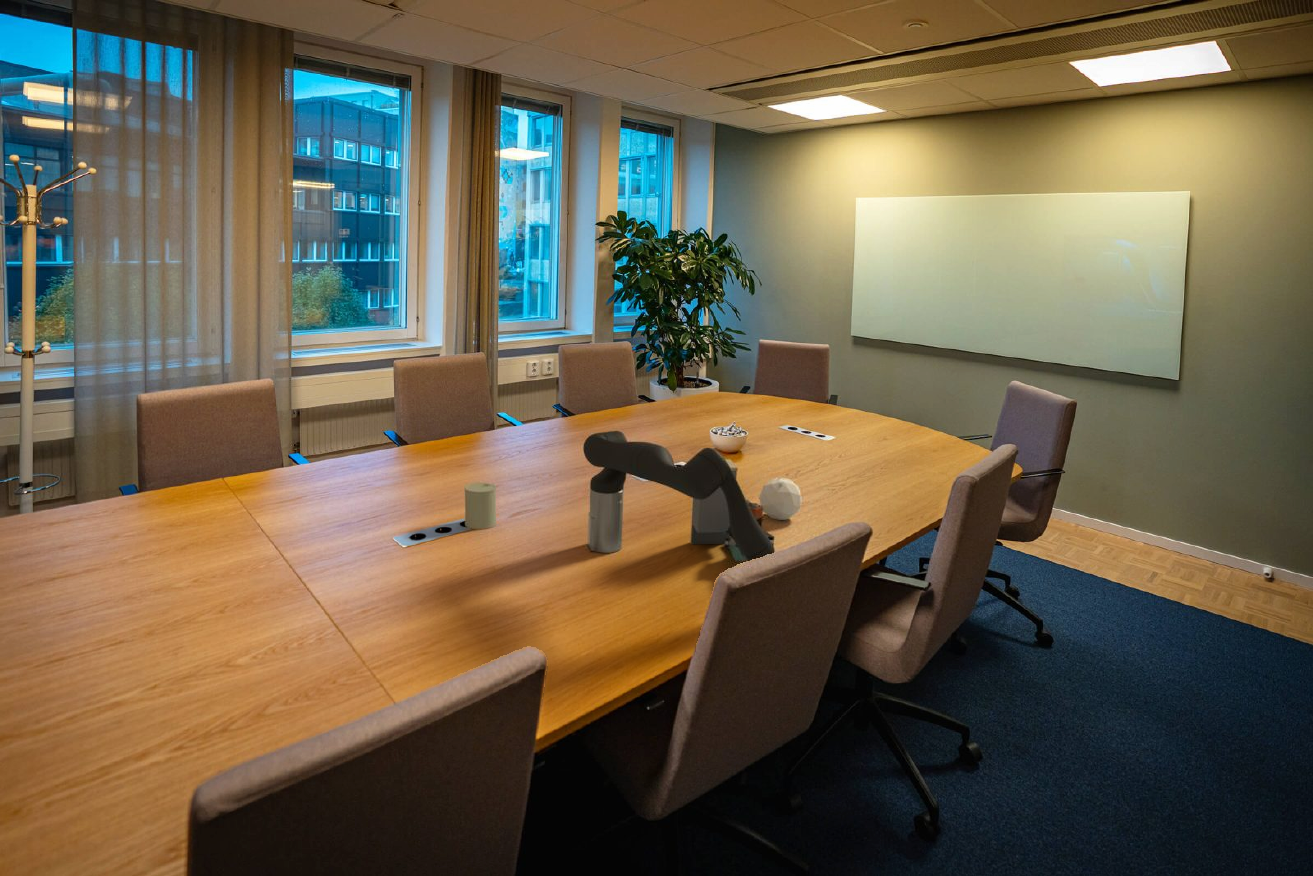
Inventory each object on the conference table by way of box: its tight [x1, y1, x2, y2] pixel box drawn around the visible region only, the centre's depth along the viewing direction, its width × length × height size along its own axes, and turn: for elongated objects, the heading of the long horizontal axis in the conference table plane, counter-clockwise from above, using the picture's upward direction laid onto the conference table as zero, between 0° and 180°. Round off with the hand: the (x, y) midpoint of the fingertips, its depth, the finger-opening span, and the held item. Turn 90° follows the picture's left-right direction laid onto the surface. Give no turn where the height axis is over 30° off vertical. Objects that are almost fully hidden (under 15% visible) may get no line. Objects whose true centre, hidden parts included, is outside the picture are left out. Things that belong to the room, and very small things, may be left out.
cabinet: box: [690, 458, 739, 545], centre depth 226 cm, size 10×8×25 cm
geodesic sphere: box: [758, 476, 803, 521], centre depth 254 cm, size 14×14×14 cm
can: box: [464, 482, 497, 530], centre depth 238 cm, size 9×9×12 cm
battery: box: [746, 499, 764, 528], centre depth 240 cm, size 4×7×10 cm, turn 48°
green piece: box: [727, 545, 747, 562], centre depth 225 cm, size 4×12×12 cm, turn 10°
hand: (739, 528), depth 223 cm, fingers open, 4 cm apart
